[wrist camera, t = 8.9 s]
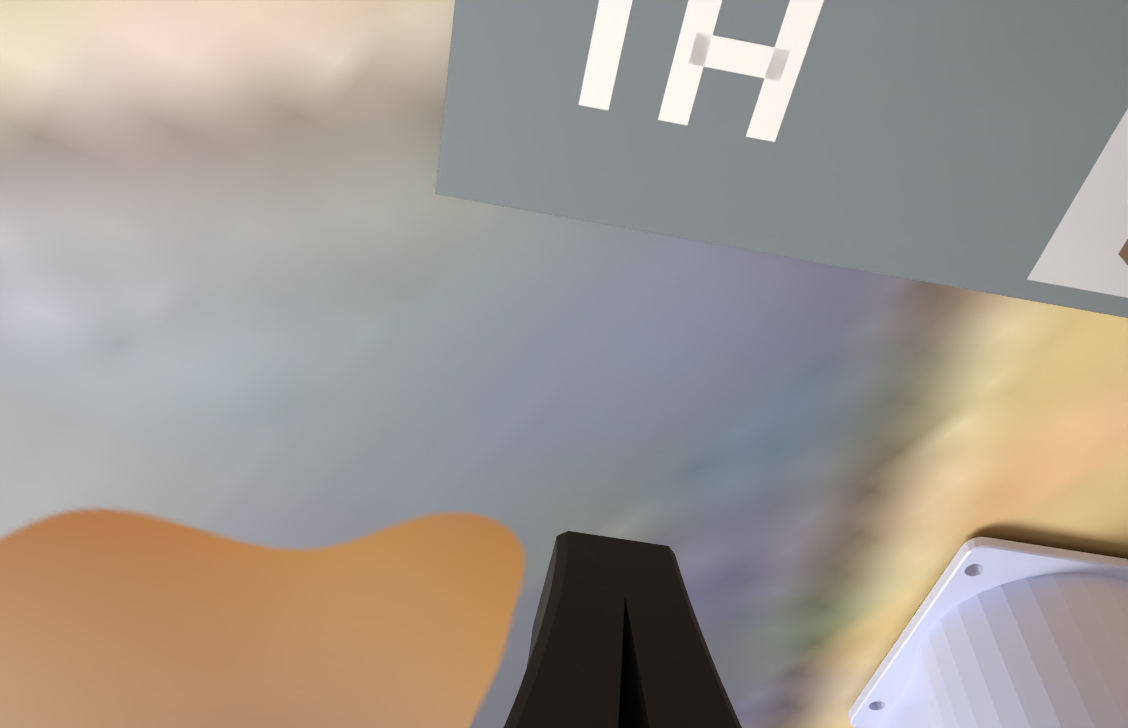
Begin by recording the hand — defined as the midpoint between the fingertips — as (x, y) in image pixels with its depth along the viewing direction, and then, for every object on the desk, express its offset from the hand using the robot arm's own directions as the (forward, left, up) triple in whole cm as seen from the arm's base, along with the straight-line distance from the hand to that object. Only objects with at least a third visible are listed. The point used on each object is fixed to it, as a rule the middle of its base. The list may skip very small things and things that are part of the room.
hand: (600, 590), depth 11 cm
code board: (+4, -7, -10) cm, 13 cm away
